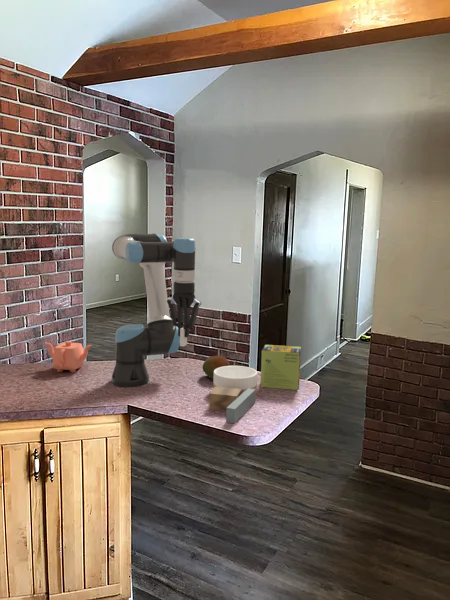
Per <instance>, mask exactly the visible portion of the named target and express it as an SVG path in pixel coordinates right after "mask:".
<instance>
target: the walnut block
mask: <svg viewBox="0 0 450 600" xmlns="http://www.w3.org/2000/svg"><path fill="white" fill-rule="evenodd" d="M241 394H242V389H236V388H226V387H216V386H215V388H214V389H212V390H211V391H210V392H209V405H208V408H209V410H216V411H223V412H226V411H227V407H228V406H229V405H230V404H231V403H232V402H233V401H235V400H236V399H237V398H238V397H239V396H240V395H241Z"/></svg>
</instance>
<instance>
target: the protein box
mask: <svg viewBox="0 0 450 600" xmlns="http://www.w3.org/2000/svg"><path fill="white" fill-rule="evenodd" d="M301 349H302V346H295V345H294V346H293V345H292V346H291V345H277V344H275V345H274V344H264V346H263V348H262V349H261V359H260V361H261V362H260V363H261V365H260V388H271V389H279V390H281V389H282V390H283V389H284V390H290V389H291V390H293V391H298V390H299V386H300V379H301V378H300V377H301V352H302V351H301Z"/></svg>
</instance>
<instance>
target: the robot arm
mask: <svg viewBox="0 0 450 600" xmlns="http://www.w3.org/2000/svg"><path fill="white" fill-rule="evenodd" d="M111 250H112V253H113V255H114V256H115V257H116V258H117V259H120V260H124V261H127V263H130V264H132V263H133V264H139V266H140V268H142V269H143V275H144V283H145V284H144V285H145V291H146V301H147V309H148V316H149V321H148V322H147V323H146V327H145V325H144V324H142V323H130V324H126V325H123V326H120V327H118V328H117V330H116V331H115V339H114V342H115V366H114V367H113V368H114V369H113V371H112V375H111V383H112V385H114V386H118V387H123V388H124V387H125V388H128V387H129V388H131V387H133V388H134V387H140V386H144V385H146V384H147V383H149V381H150V375H149V372H148V369H147V366H146V363H145V362H146V361H145V357H147V356H158V355H170V354H175V353H177V352H178V350H179V349H180V347H186V346H187V345H188V338H189V336H190V329H191V328H193V327H195V325H196V324H195V323H196V320H197V317H198V312H199V308H200V306H201V305H202V302H201V301H200V300H197V299H196V295H195V291H196V290H195V286H196V285H195V282H194V281H196V278H195V277H196V272H195V271H196V270H195V269H196V267H195V266H196V251H197V250H196V241H195V239H194V238H189V237H176V238H174V240H173V241H168V240H167V238H166V237H165V236H164V235H163V234H160V233H159V234H158V233H126V234H122V235H120V236H118V237H116V238H115V239H114V240H113V242H112V245H111ZM166 263H173V280H174V282H173V295H172V297H171V298H169V299H168V293H167V286H166V284H167V283H166V277H165V270H164V266H165V264H166ZM191 306H193V307H192V308H191ZM191 309H192V310H191Z"/></svg>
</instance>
